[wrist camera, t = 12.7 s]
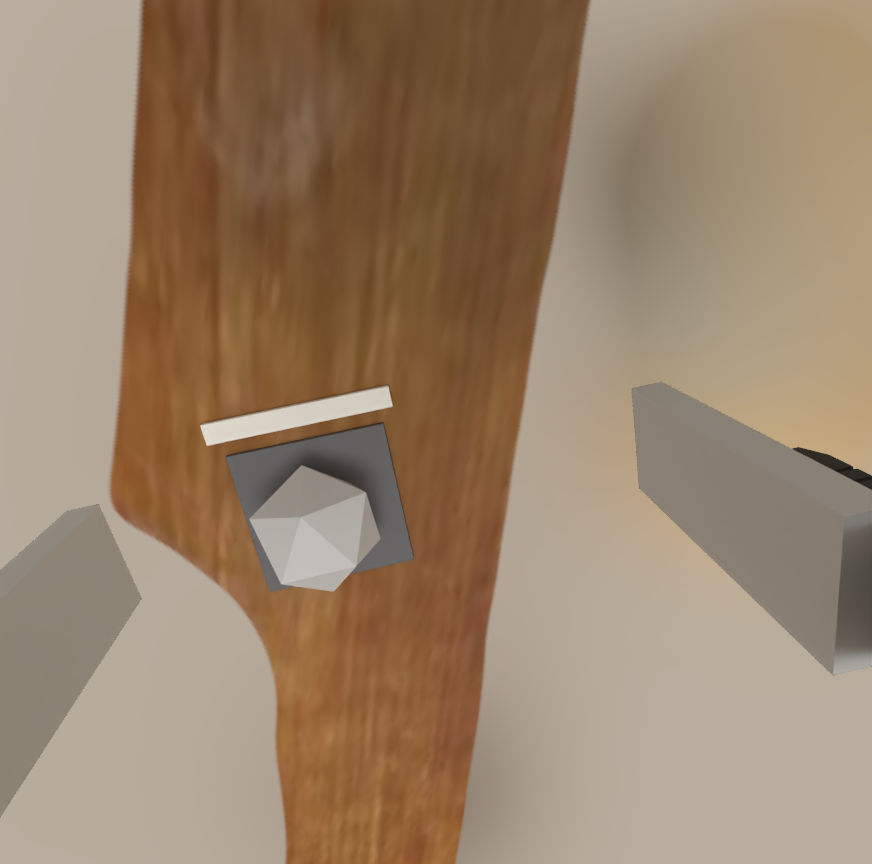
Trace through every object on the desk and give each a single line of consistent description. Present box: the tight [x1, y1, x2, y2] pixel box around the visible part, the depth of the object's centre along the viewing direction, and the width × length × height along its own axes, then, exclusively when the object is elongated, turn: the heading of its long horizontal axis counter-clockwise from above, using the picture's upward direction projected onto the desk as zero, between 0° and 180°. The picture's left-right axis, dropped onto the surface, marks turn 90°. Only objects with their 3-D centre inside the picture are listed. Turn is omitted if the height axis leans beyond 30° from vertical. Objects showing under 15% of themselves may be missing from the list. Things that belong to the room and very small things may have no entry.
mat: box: [200, 385, 414, 592], centre depth 44 cm, size 14×15×1 cm
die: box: [249, 465, 381, 591], centre depth 40 cm, size 8×9×10 cm
